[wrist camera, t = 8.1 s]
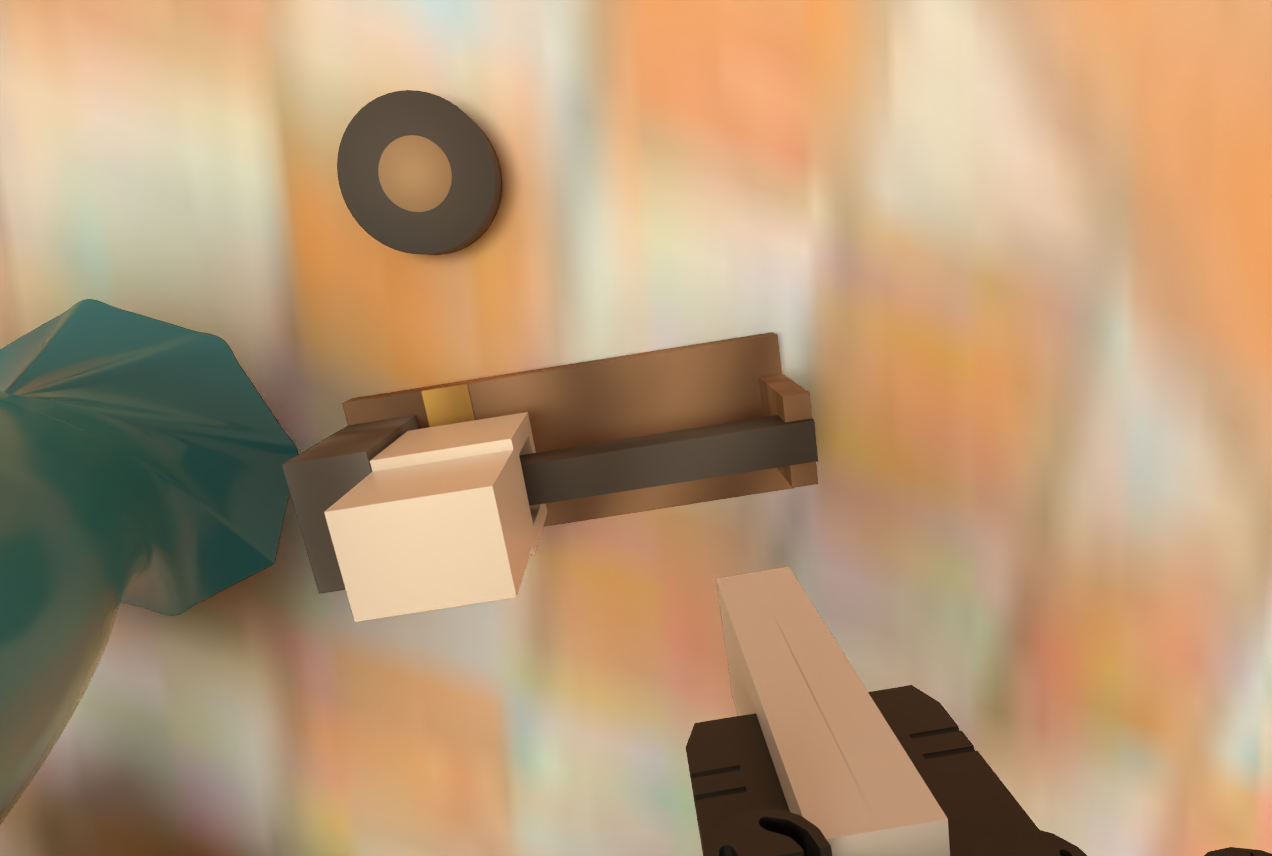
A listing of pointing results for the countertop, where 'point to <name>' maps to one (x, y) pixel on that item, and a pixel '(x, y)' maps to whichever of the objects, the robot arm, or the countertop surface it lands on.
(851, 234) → the countertop surface
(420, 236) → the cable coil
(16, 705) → the vase
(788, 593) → the robot arm
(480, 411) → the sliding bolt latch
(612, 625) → the countertop surface
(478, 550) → the sleeve
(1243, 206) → the countertop surface
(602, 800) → the countertop surface
